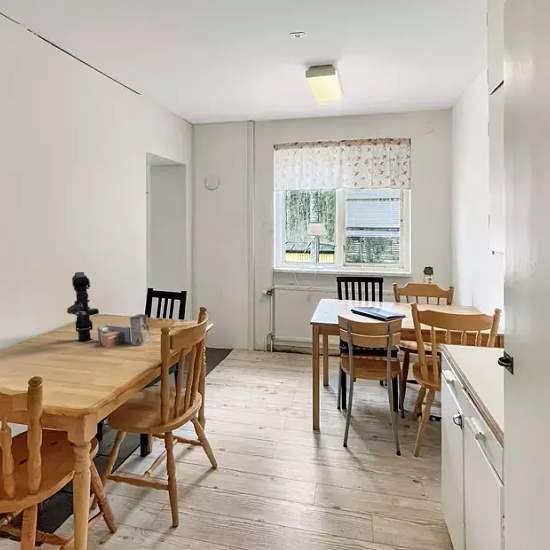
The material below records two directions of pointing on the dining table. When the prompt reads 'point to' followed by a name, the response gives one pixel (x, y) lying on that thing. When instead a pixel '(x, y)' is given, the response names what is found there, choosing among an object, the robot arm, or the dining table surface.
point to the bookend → (121, 339)
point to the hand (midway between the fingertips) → (84, 325)
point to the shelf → (111, 328)
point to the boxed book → (109, 338)
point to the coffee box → (139, 329)
